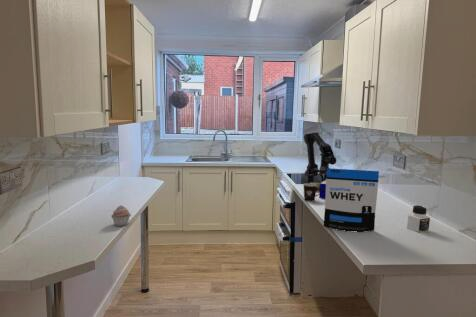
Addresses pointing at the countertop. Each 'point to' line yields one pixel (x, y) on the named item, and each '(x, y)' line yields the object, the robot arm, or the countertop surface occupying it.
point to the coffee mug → (310, 191)
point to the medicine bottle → (418, 219)
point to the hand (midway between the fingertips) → (323, 183)
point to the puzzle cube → (323, 186)
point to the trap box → (317, 186)
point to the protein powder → (351, 199)
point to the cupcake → (121, 216)
